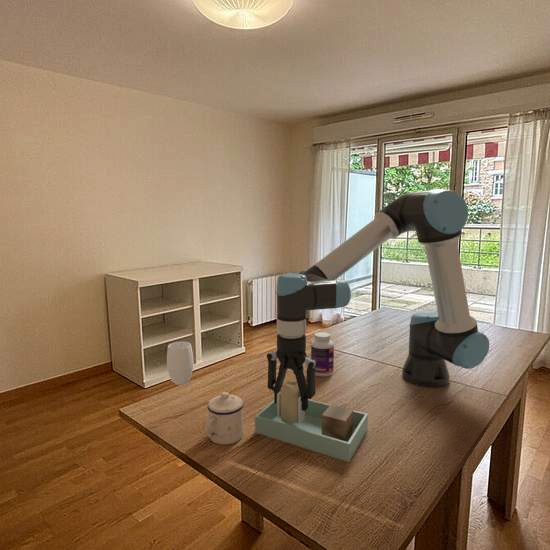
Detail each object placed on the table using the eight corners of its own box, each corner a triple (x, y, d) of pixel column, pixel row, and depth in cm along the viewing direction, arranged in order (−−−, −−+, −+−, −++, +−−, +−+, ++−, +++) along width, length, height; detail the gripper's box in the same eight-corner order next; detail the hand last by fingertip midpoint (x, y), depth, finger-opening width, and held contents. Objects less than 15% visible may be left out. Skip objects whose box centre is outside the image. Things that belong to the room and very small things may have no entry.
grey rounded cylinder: (182, 424, 105) (179, 351, 102) (163, 416, 109) (160, 346, 106) (200, 412, 111) (198, 343, 108) (182, 406, 115) (179, 339, 112)
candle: (286, 426, 100) (286, 389, 98) (276, 416, 104) (276, 381, 103) (305, 420, 102) (305, 385, 101) (294, 411, 107) (294, 377, 105)
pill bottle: (332, 378, 134) (333, 338, 132) (309, 376, 135) (310, 337, 133) (333, 369, 142) (334, 331, 139) (312, 367, 143) (312, 330, 141)
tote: (367, 431, 101) (368, 413, 101) (349, 464, 88) (349, 444, 87) (282, 408, 113) (282, 392, 113) (255, 434, 100) (254, 416, 100)
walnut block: (352, 435, 99) (353, 410, 97) (344, 448, 93) (345, 421, 92) (330, 429, 101) (330, 404, 100) (321, 441, 96) (321, 414, 95)
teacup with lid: (224, 422, 106) (223, 382, 104) (250, 432, 101) (250, 390, 99) (192, 444, 96) (190, 400, 94) (220, 456, 91) (219, 410, 89)
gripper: (330, 335, 98) (328, 419, 102) (267, 325, 107) (267, 403, 111) (319, 343, 92) (317, 433, 96) (253, 332, 101) (253, 415, 104)
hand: (290, 417), depth 103 cm, fingers closed on candle, 6 cm apart
